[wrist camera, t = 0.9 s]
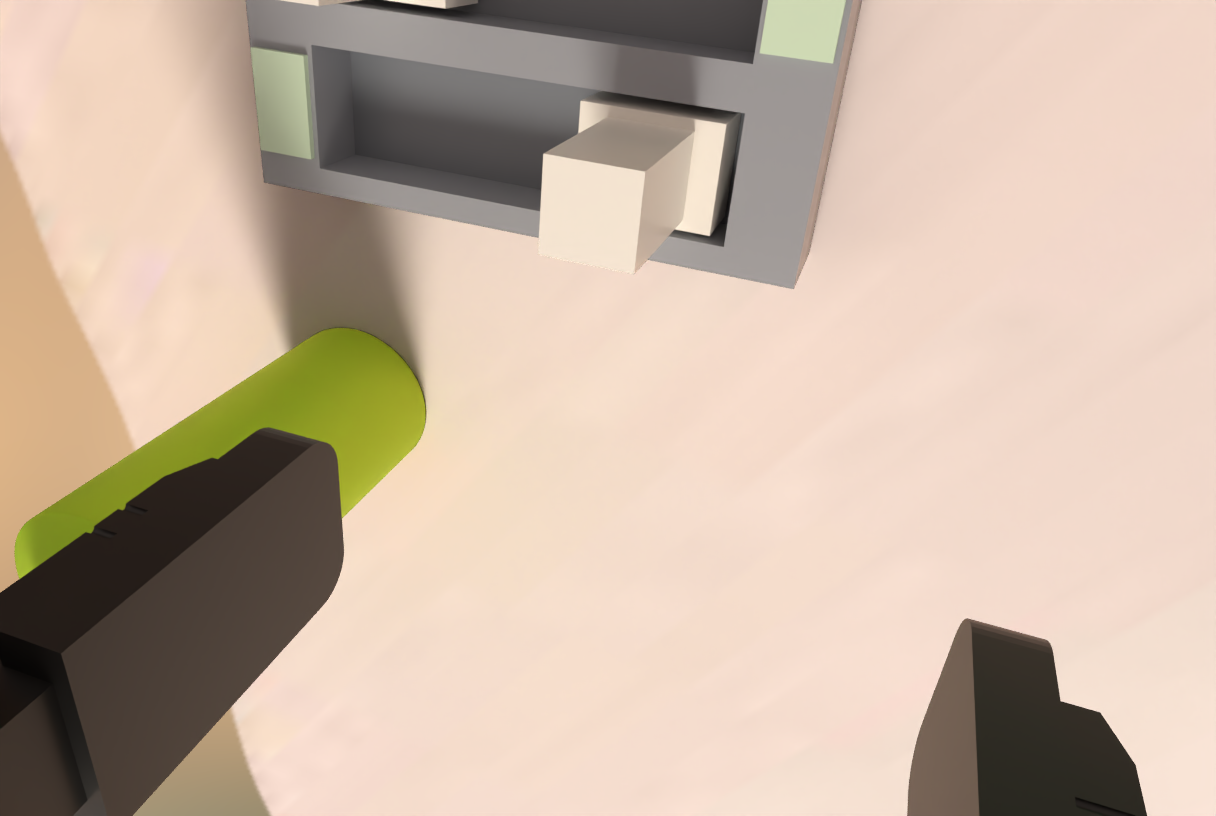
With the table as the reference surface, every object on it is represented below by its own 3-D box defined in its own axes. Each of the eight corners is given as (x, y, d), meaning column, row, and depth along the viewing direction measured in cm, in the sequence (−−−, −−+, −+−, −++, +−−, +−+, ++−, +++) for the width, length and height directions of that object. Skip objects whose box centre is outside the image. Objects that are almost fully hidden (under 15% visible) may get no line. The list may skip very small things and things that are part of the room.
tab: (741, 110, 25) (682, 163, 19) (724, 216, 26) (665, 293, 21) (604, 89, 26) (511, 134, 20) (595, 192, 27) (506, 260, 22)
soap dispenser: (292, 285, 34) (-327, 627, 18) (446, 380, 34) (-36, 818, 17) (259, 397, 38) (-291, 777, 21) (400, 485, 37) (-45, 941, 21)
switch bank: (888, -126, 23) (879, -133, 20) (809, 253, 28) (792, 291, 25) (299, -181, 27) (221, -193, 24) (322, 160, 32) (260, 183, 29)
